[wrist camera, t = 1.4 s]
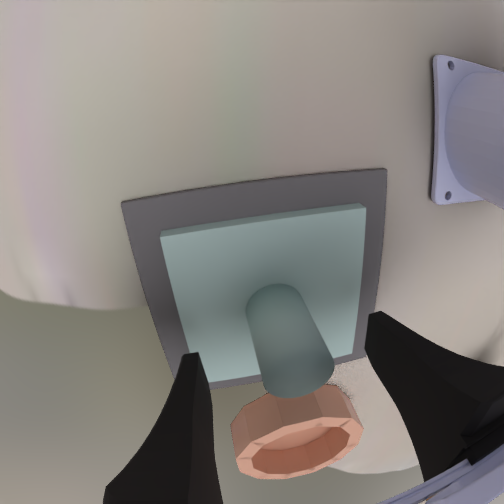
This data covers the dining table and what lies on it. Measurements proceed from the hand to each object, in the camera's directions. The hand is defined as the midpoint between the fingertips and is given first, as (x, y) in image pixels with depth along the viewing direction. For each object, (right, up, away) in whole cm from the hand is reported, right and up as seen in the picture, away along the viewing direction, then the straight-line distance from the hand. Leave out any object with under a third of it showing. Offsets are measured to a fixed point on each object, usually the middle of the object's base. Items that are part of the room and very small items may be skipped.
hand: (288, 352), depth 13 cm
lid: (-1, +2, +3) cm, 4 cm away
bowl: (+1, -9, +9) cm, 13 cm away
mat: (-1, +2, +3) cm, 4 cm away
